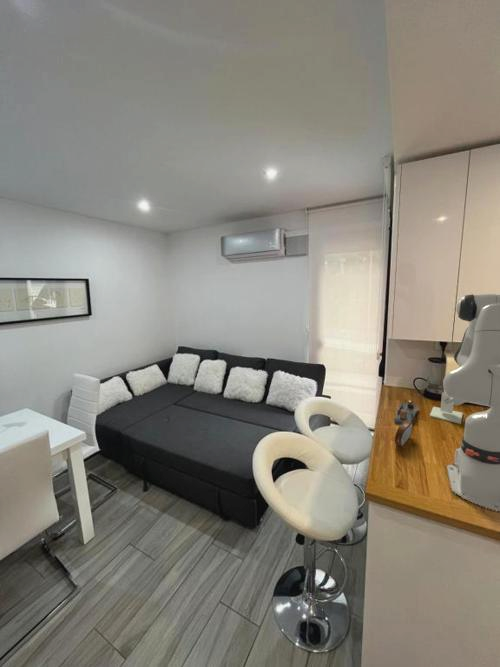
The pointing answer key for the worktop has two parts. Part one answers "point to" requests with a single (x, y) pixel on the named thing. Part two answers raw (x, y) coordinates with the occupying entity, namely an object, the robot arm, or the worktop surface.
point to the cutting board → (446, 415)
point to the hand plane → (406, 412)
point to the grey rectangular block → (444, 406)
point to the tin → (403, 433)
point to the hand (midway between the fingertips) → (445, 401)
